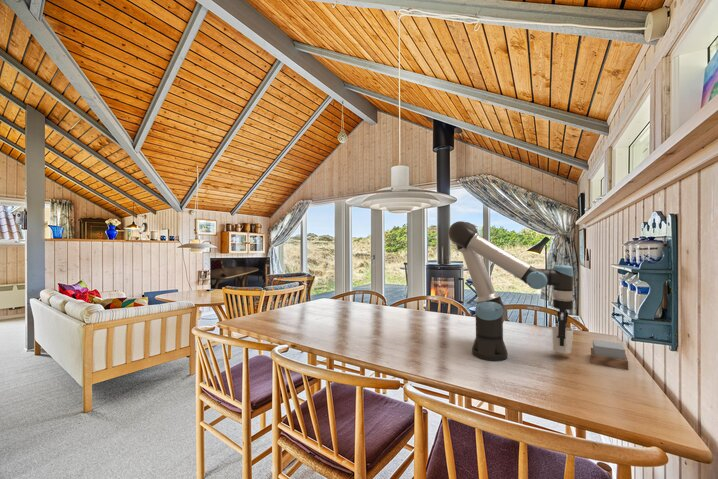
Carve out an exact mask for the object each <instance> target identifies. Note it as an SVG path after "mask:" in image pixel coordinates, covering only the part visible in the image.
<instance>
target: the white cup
mask: <svg viewBox="0 0 718 479" xmlns="http://www.w3.org/2000/svg"><path fill="white" fill-rule="evenodd" d="M558 327H559V325H556V326H552V327H551V332H552V345H553V350H554V352H558V338H557V336H558ZM573 334H574V330H573V328H571V327H566V328H565V337H566V354H571V353H572V347H573V338H574V335H573ZM558 353H559V352H558Z"/></svg>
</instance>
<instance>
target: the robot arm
mask: <svg viewBox="0 0 718 479" xmlns="http://www.w3.org/2000/svg"><path fill="white" fill-rule="evenodd" d="M447 235H448V238H449V240H450V241H451V242H452V243H453V244H455V246H456V248H457V251H458V252H460V253H462V256H463V259H464V262H465V265H466V268H467V270H468V273H469V276H470V278H471V282H472V284H473V287H474V290H475V292H476V296H477V300H476V301H475V302H476V305H475V309H474V312H475V314H474V315H475V338H474V342H473V343H472V344H473V345H472V348H471V353H472V355H473V356H475V357H476V358H479V359H481V360H486V361H492V362H496V361H497V362H499V361H505V360H507V359H508V349H507V346H506V344H505V342H504V322H505V321H506V319H507V316H508V310H507V307H506V305H505V304H504V303H503V300H502V298H501V296H500V294H498V293H496V292H495V288H494V286H493V283H492V280H491V277H490V275H489V273H488V269H487V267H486V264H485V262H484V259H486V260H487V261H489V262H491V263H492V264H494V265H496V266H497V267H499V268H501V269H502V270H504V271H506V272H507V273H509V274H511V275H512V276H514V277H515V278H518V280H521V281H522V282H523V283H524V284H525V285H528V286H529V287H530V288H532V289H533V290H541V289H543V288H545V287H546V286H549V287H551V286H553V289H552V298H553V300H552V308H554V309H557V310H559V311H557V314H556V315H557V323H558V326H559V327H558V336H557V338H558V353H560V354H565V355H566V354H567V353H566V337H565V328H566V327H567V323H568V321H569V320H568V318H569V312H568V311H571V310H573V308H574V301H573V299H574V296H575V293H574V269H573V267H572V265H565V264H554V266H553V267H552V268H549V269H548V268H535V267H534V266H532V265H530V264H529V263H527V262H526V261H523V260H522V259H520V258H518V257H516V256H514V255H513V254H511V253H510V252H508V251H506V250H505V249H502V248H501V247H499V246H498V245H496V244H494V243H492V242H490V241H489V240H487V239H485V238H484V237H482V236H480V234H479V232H478V229H477V227H476V226H475V225H474V224H472V223H471V222H469V221H462V220H461V221H455V222H453V223H452V224H451V225H450V226H449V228H448V234H447ZM567 328H568V327H567Z"/></svg>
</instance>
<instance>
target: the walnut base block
mask: <svg viewBox="0 0 718 479" xmlns="http://www.w3.org/2000/svg"><path fill="white" fill-rule="evenodd" d="M590 364H591V365H592V364H593V365H597V366H603V367H604V366H605V367H610V368H615V369H621V370H627V371H629V360H628V357H627V355H626V353H625V360H624V359H617V358H611V357H604V356H597V355H595V354H594V350H593V347H590Z"/></svg>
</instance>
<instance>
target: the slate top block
mask: <svg viewBox="0 0 718 479" xmlns="http://www.w3.org/2000/svg"><path fill="white" fill-rule="evenodd" d="M592 348H593V350H594V354H595V355H597V356H604V357H611V358H617V359H624V360H625V354H626V349H625V347H624V345H623V343H621V342H615V341H607V340H599V339H592Z"/></svg>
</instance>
